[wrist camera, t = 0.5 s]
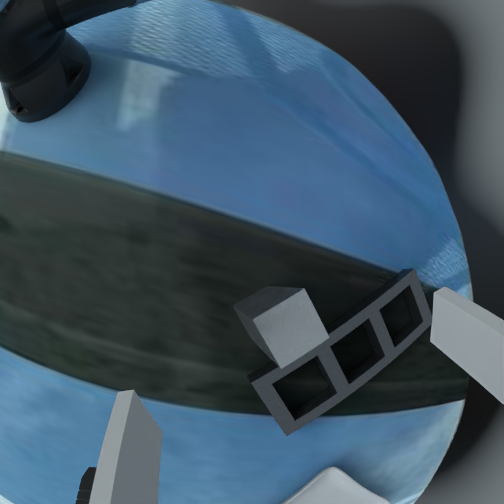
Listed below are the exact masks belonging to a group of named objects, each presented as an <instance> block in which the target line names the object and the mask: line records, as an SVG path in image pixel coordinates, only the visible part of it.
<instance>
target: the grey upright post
mask: <svg viewBox="0 0 504 504" xmlns="http://www.w3.org/2000/svg"><path fill="white" fill-rule="evenodd" d="M233 307H234V309H235V311H236V313H237V315H238V316H239V318H240V320H241V322H242V323H243V325H244V327H245V329H246V330H247V332H248V334H249V335H250V337H251V339H252V340H253V341H254V342H255V343H256V344H257V345H258V346H259V347H260V348H261V349H262V350H263V351H264V352H265V353H266V354H267V355H268V356H269V357H270V358H271V359H272V360H273V361H274V362H275V363H276V364H277V365H278V366H279V367H280V368H281V369H282V368H284V367H285V366H287V365H289V364H290V363H292V362H293V361H295V360H296V359H298V358H300V357H301V356H303V355H304V354H306V353H307V352H309V351H310V350H312V349H313V348H315V347H316V346H318V345H319V344H321V343H322V342H324V341H325V340H327V339H328V338H330V337H329V335H328V333H327V332H326V330H325V328H324V326H323V324H322V322H321V320H320V318H319V316H318V314H317V312H316V310H315V308H314V306H313V304H312V302H311V300H310V298H309V296H308V295H307V293H306V291H305V289H304V288H288V287H273V286H266V287H265V288H263V289H261V290H259V291H258V292H256V293H254V294H252V295H251V296H249V297H247V298H245V299H244V300H242V301H240V302H238V303H237V304H235V305H233Z"/></svg>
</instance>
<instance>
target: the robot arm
mask: <svg viewBox="0 0 504 504" xmlns="http://www.w3.org/2000/svg"><path fill="white" fill-rule="evenodd" d="M148 1H151V0H0V82H1V86H2V90H3V94H4V97H5V101H6V105H7V107H8V109H9V111H10V112H11V113H12V114H13V115H14V117H15V118H16V119H18V120H19V121H22V122H35V121H38V120H41V119H44V118H46V117H48V116H50V115H52V114H54V113H55V112H57V111H58V110H60V109H61V108H62V107H64V106H65V105H66V104H67V103H68V102H69V101H70V100H72V99H73V97H74V96H75V95H76V94H77V93H78V92H79V91H80V89H81V88H82V86H83V85H84V83H85V82H86V80H87V78H88V75H89V72H90V68H91V62H90V58H89V56H88V53H87V51H86V49H85V47H84V46H83V45H82V44H80V43H79V42H78V41H77V40H76V39H75V38H74V37H72V36H71V35H70V34H69V33H68V32H67V31H66V28H68V27H71V26H73V25H76V24H78V23H81V22H83V21H86V20H88V19H91V18H94V17H97V16H100V15H103V14H106V13H109V12H112V11H115V10H118V9H122V8H125V7H129V8H131V7H134V6H136V5H138V4H140V3H144V2H148ZM430 342H432V343H433V344H434V345H435V346H437V347H438V348H439V349H440V350H441V351H443V352H444V353H445V354H446V355H447V356H449V357H450V358H451V359H452V360H453V361H454V362H456V363H457V364H458V365H459V366H460V367H462V368H463V369H464V370H465V371H466V372H467V373H469V374H470V375H471V376H472V377H473V378H474V379H475V380H477V381H478V382H479V383H480V384H481V385H482V386H483V387H485V388H486V389H487V390H488V391H489V392H490V393H491V394H492V395H494V396H495V397H496V398H497V399H498V400H499V401H500V402H501V403H502V404H504V320H502V319H500V318H498V317H497V316H495V315H493V314H492V313H490V312H489V311H487V310H485V309H484V308H482V307H480V306H479V305H477V304H475V303H473V302H472V301H470V300H468V299H466V298H465V297H463V296H461V295H459V294H458V293H456V292H454V291H452V290H450V289H449V288H447V287H443V288H441V289H439V290H438V291H436V292H434V300H433V316H432V328H431V338H430ZM162 433H163V432H162V430H161V429H160V427H159V426H158V425H157V423H156V422H155V420H154V419H153V418H152V416H151V415H150V413H149V412H148V410H147V409H146V407H145V406H144V405H143V403H142V401H141V400H140V398H139V397H138V395H137V394H136V392H135V391H134V390H129V391H122V392H118V394H117V397H116V400H115V403H114V406H113V410H112V413H111V417H110V420H109V423H108V427H107V430H106V434H105V438H104V441H103V445H102V449H101V453H100V457H99V461H98V465H97V468H96V467H89V468H88V469H87V471H86V472H85V474H84V475H83V477H82V479H81V483H80V487H79V490H80V491H78V495H77V499H78V500H76V504H158V488H159V470H160V456H161V444H162Z"/></svg>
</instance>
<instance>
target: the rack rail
mask: <svg viewBox="0 0 504 504" xmlns="http://www.w3.org/2000/svg"><path fill="white" fill-rule="evenodd" d="M400 292H402V294H403V297H404V299H405V302H406V304H407V307H408V309H409V312H410V315H411V317H412V321H411V322H410V323H409V324H408V325H407V326H405V327H404V328H403V329H402V330H401V331H400V332H399V333H398V334H396V335H395V336H394V337H393V338H392V339H391V338H390V335H389V333H388V330H387V328H386V325H385V323H384V321H383V318H382V316H381V313H380V311H379V310H380V309H381V308H382V307H383V306H385V305H386V304H387V303H388V302H390V301H391V300H392V299H393V298H394V297H396V296H397V295H398V294H399V293H400ZM360 324H363V327H364V329H365V331H366V333H367V336H368V338H369V340H370V342H371V345H372V347H373V349H374V352H375V353H374V354H372V355H371V356H370V357H369V358H367V359H366V360H365V361H364V362H362V363H361V364H360V365H358V366H357V367H356V368H354V369H353V370H352V371H350V372H349V373H348V374H346V375H345V376H344V374H343V372H342V370H341V368H340V366H339V364H338V362H337V360H336V358H335V356H334V354H333V352H332V350H331V348H330V346H331V345H333V344H334V343H336V342H337V341H338V340H340V339H341V338H343V337H344V336H345V335H347V334H348V333H350V332H351V331H352V330H354V329H355V328H356V327H358V326H359V325H360ZM431 324H432V315H431V312H430V309H429V306H428V304H427V301H426V298H425V295H424V292H423V290H422V287H421V284H420V282H419V279H418V277H417V274H416V272H415V269H403V270H402V271H401V272H400V273H398V274H397V275H396V276H395V277H393V278H392V279H391V280H390V281H388V282H387V283H386V284H385V285H383V286H382V287H381V288H379V289H378V290H377V291H375V292H374V293H373V294H372V295H370V296H369V297H368V298H366V299H365V300H364V301H362V302H361V303H359V304H358V305H357V306H355V307H354V308H353V309H351V310H350V311H348V312H347V313H346V314H344V315H343V316H341V317H340V318H339V319H337V320H336V321H334V322H333V323H331V324H330V325H328V326H327V327H326V328H325V330H326V332H327V333H328V335H329V337H330V338H328V339H327V340H325V341H324V342H322V343H321V344H319V345H318V346H316V347H315V348H313V349H312V350H310V351H309V352H307V353H306V354H304V355H303V356H301V357H300V358H298V359H296V360H295V361H293V362H292V363H290V364H289V365H287V366H285V367H284V368H282V369H281V368H280V367H279V366H278V365H277V364H276V363H275V362H274V361H272V362H271V363H269V364H267V365H266V366H264V367H262V368H260V369H259V370H257V371H255V372H254V373H252V374H250V375H248V376H247V377H248V378H249V380H250V382H251V384H252V385H253V387H254V388H255V390H256V391H257V393H258V394H259V396H260V397H261V399H262V401H263V402H264V404H265V405H266V407H267V408H268V410H269V411H270V413H271V414H272V416H273V417H274V418H275V420H276V421H277V423H278V424H279V426H280V427H281V429H282V430H283V432H284V433H285V434H286V436H288V435H289V434H291V433H293V432H294V431H296V430H298V429H299V428H301V427H303V426H304V425H306V424H307V423H309V422H311V421H312V420H314V419H315V418H317V417H318V416H320V415H321V414H323V413H324V412H326V411H327V410H329V409H330V408H332V407H333V406H335V405H336V404H337V403H339V402H340V401H342V400H343V399H344V398H346V397H347V396H349V395H350V394H351V393H353V392H354V391H355V390H357V389H358V388H359V387H361V386H362V385H363V384H364V383H366V382H367V381H368V380H370V379H371V378H372V377H373V376H375V375H376V374H377V373H378V372H379V371H381V370H382V369H383V368H384V367H385V366H387V365H388V364H389V363H390V362H391V361H392V360H394V359H395V358H396V357H397V356H398V355H399V354H400V353H402V352H403V351H404V350H405V349H406V348H407V347H408V346H409V345H410V344H411V343H412V342H413V341H415V340H416V339H417V338H418V337H419V336H420V335H421V334H422V333H423V332H424V331H425V330H426V329H427V328H428V327H429V326H430V325H431ZM312 358H314V360H315V362H316V364H317V365H318V367H319V369H320V371H321V373H322V375H323V377H324V378H325V380H326V382H327V384H328V386H329V387H328V388H327V389H325V390H324V391H322V392H321V393H319V394H318V395H316V396H315V397H313V398H312V399H310V400H309V401H307V402H305V403H304V404H302V405H301V406H299V407H298V408H296V409H294V410H293V411H291V412H289V411H288V409H287V407H286V406H285V404H284V403H283V401H282V400H281V398H280V396H279V395H278V393H277V392H276V390H275V388H274V387H273V385H272V383H274V382H276V381H277V380H279V379H281V378H282V377H284V376H286V375H287V374H289V373H290V372H292V371H294V370H295V369H297V368H298V367H300V366H301V365H303V364H305V363H306V362H308V361H309V360H311V359H312Z"/></svg>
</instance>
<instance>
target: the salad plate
mask: <svg viewBox="0 0 504 504" xmlns="http://www.w3.org/2000/svg"><path fill="white" fill-rule="evenodd" d="M281 504H390V501H389V500H387V499H385V498H383V497H381V496H379V495H377V494H375V493H373V492H371V491H370V490H368V489H366V488H365V487H363V486H362V485H360V484H359V483H357V482H356V481H355V480H354V479H352V478H351V477H350V476H349V475H347V474H346V473H345V472H343V471H342V470H341V469H339V468H337V467H328V468H326V469H324V470H322V471H321V472H320V473H319V474H317V475H316V476H315V477H314V478H313V479H312V480H310V481H309V482H308V483H307V484H306V485H305V486H303V487H302V488H301V489H300V490H298V491H297V492H296V493H294V494H293V495H292V496H290V497H289V498H288V499H286V500H285V501H283V502H282V503H281Z"/></svg>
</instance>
